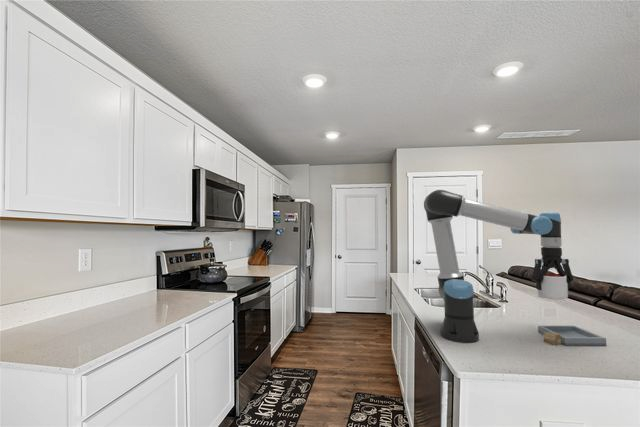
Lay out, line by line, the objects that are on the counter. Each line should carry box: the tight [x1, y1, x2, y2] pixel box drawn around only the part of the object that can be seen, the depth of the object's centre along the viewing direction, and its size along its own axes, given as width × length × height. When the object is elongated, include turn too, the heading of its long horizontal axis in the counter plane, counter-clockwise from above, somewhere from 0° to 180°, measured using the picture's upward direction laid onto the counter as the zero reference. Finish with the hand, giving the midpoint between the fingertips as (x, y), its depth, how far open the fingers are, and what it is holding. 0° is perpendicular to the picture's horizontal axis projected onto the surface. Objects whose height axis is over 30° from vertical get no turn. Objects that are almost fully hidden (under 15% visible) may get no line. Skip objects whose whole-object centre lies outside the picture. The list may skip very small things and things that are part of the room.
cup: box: [541, 273, 567, 301], centre depth 142 cm, size 10×10×10 cm
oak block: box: [543, 331, 562, 346], centre depth 129 cm, size 4×4×4 cm
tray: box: [537, 325, 607, 347], centre depth 134 cm, size 16×16×3 cm
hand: (553, 297), depth 142 cm, fingers closed on cup, 10 cm apart
